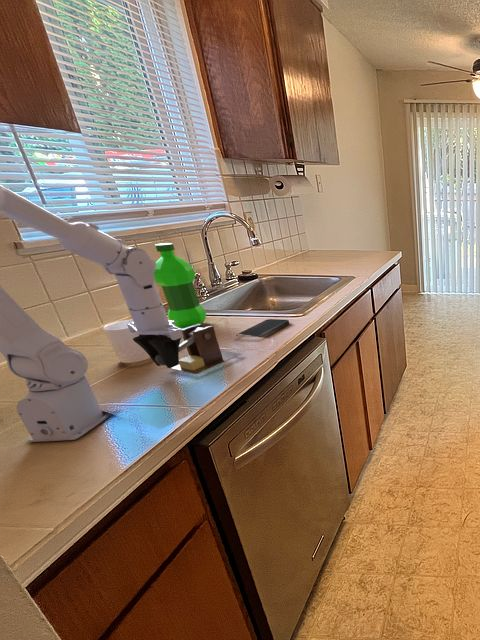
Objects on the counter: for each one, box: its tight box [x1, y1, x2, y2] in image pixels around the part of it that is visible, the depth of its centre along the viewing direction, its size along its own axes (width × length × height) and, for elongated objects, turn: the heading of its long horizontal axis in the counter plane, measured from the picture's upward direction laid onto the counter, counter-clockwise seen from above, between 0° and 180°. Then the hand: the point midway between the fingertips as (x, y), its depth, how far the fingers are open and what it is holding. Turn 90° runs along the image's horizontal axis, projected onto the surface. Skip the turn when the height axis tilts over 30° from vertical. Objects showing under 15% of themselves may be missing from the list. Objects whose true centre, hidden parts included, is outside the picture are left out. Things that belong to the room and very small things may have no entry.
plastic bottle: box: [154, 242, 207, 329], centre depth 119 cm, size 10×10×25 cm
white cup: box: [102, 318, 151, 364], centre depth 98 cm, size 8×8×10 cm
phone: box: [235, 318, 290, 339], centre depth 119 cm, size 8×1×15 cm
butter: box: [179, 355, 205, 370], centre depth 94 cm, size 3×4×2 cm
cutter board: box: [171, 324, 242, 375], centre depth 95 cm, size 12×9×10 cm
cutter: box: [155, 327, 201, 366], centre depth 91 cm, size 12×3×3 cm, turn 159°
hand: (168, 365), depth 89 cm, fingers closed on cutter, 3 cm apart
